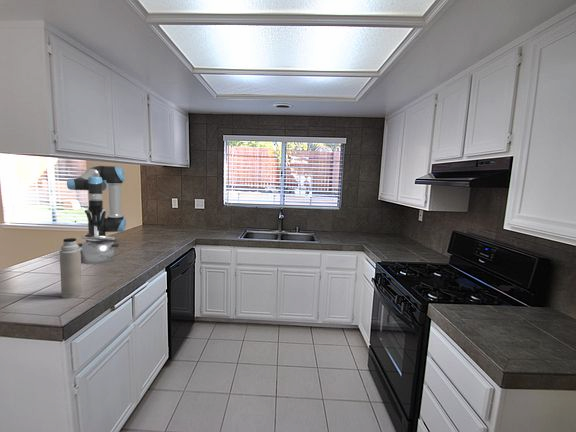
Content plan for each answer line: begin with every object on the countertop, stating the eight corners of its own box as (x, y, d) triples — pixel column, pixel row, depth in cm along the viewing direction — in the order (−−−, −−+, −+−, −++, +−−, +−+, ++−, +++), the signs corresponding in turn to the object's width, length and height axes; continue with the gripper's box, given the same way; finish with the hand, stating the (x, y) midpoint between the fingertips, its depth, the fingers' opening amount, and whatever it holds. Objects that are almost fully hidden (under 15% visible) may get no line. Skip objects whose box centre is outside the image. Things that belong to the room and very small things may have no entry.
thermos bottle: (58, 298, 136) (55, 240, 133) (66, 292, 144) (64, 237, 140) (77, 298, 138) (75, 240, 135) (85, 291, 146) (82, 237, 142)
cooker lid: (89, 239, 204) (90, 234, 204) (119, 240, 207) (119, 235, 208) (72, 237, 181) (72, 231, 182) (105, 237, 185) (105, 232, 185)
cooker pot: (85, 256, 204) (84, 240, 203) (123, 256, 209) (123, 240, 207) (71, 264, 187) (70, 245, 185) (113, 264, 191) (112, 246, 190)
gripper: (81, 200, 186) (82, 236, 188) (104, 200, 188) (104, 236, 191) (87, 199, 193) (88, 234, 196) (109, 200, 196) (109, 234, 198)
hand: (96, 235), depth 193 cm, fingers closed
